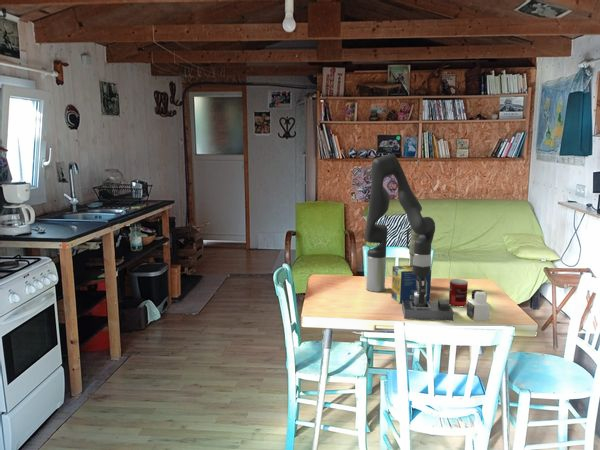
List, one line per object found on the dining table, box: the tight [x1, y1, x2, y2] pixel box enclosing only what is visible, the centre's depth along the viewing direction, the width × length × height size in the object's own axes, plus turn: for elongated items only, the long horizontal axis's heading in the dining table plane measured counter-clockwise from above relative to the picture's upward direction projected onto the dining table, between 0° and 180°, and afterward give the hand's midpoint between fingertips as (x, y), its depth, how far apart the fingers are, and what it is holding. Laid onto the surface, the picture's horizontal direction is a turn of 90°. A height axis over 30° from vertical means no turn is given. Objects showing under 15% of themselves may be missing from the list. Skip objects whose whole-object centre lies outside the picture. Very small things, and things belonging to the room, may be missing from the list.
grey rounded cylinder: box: [414, 290, 426, 307], centre depth 223 cm, size 5×5×10 cm
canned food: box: [448, 278, 469, 307], centre depth 237 cm, size 8×8×11 cm
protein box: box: [391, 264, 432, 305], centre depth 243 cm, size 10×15×16 cm
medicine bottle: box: [466, 289, 491, 322], centre depth 218 cm, size 7×7×12 cm
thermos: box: [406, 227, 419, 266], centre depth 263 cm, size 9×12×35 cm
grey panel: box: [401, 299, 454, 322], centre depth 222 cm, size 14×20×6 cm
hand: (420, 300), depth 222 cm, fingers open, 8 cm apart
